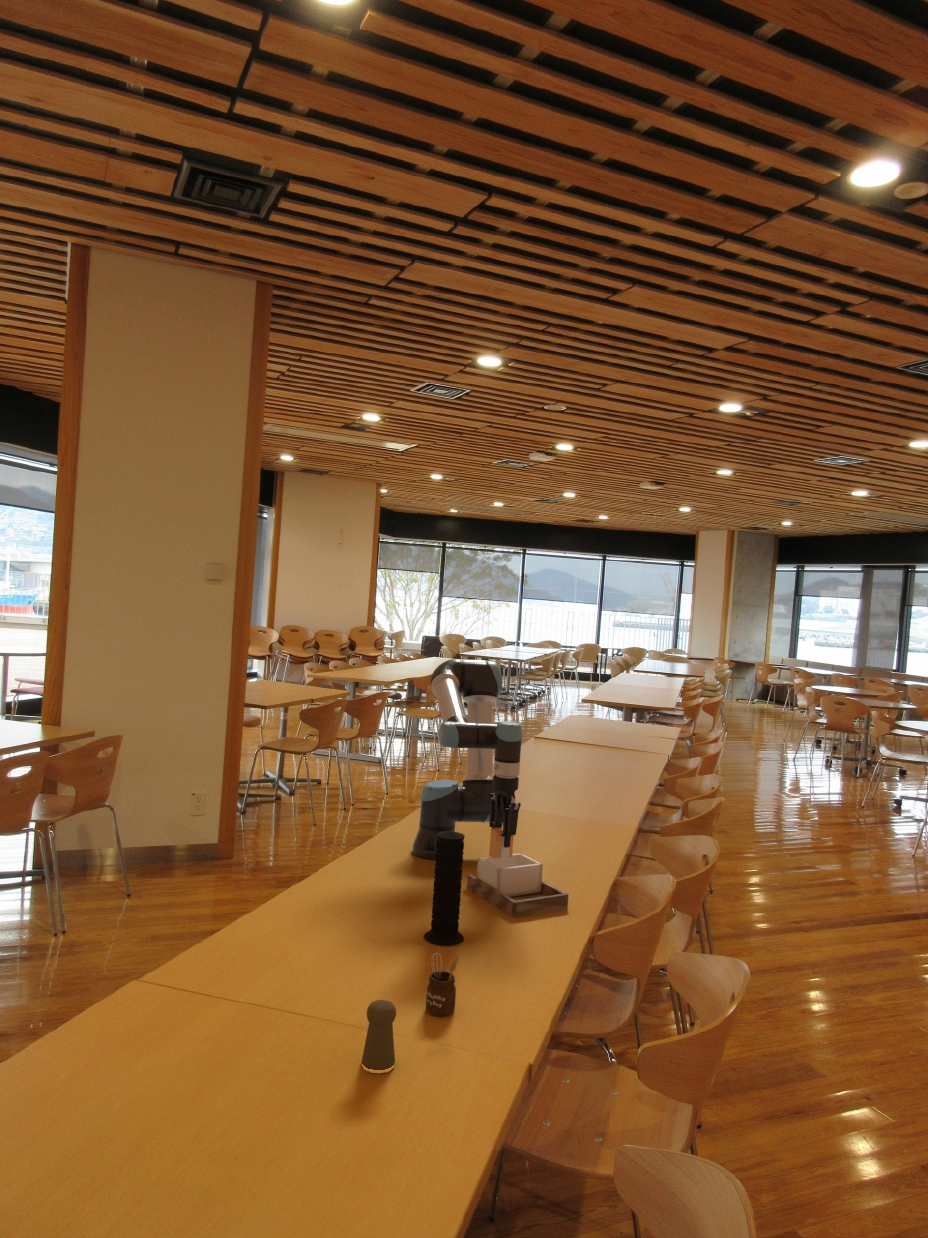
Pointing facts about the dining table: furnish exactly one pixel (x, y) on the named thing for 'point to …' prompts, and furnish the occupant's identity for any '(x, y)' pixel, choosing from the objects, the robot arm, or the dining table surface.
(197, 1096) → the dining table surface
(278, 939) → the dining table surface
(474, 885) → the bay
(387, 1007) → the grey pepper shaker
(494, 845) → the box
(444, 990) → the utensil holder
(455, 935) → the handle grip
